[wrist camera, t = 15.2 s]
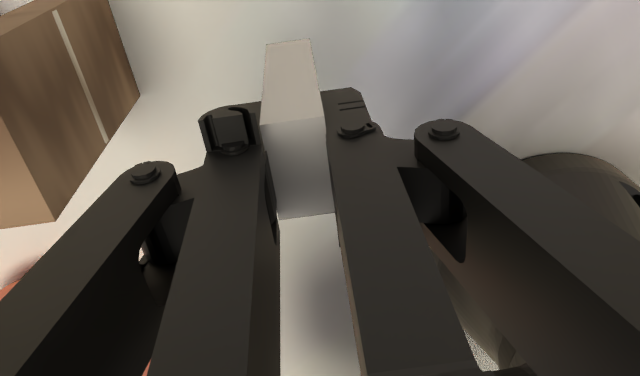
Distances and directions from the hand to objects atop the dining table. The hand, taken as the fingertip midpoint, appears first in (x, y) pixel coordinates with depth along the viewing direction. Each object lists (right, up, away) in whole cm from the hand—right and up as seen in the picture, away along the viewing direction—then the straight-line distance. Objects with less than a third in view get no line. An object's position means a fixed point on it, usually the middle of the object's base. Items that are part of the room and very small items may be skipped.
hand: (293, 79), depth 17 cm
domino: (-11, +4, +8) cm, 14 cm away
